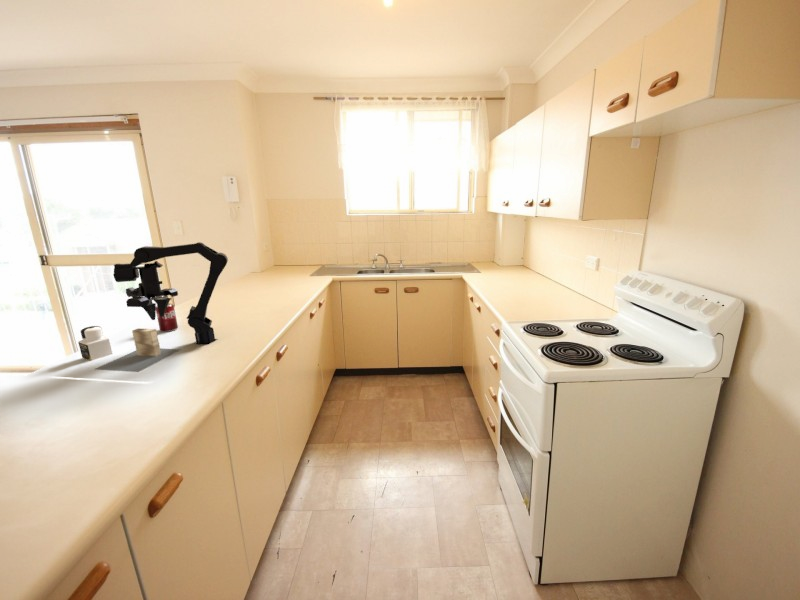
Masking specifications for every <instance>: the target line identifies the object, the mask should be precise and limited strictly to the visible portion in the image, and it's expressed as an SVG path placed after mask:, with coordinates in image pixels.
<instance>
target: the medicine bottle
mask: <svg viewBox="0 0 800 600" xmlns="http://www.w3.org/2000/svg"><path fill="white" fill-rule="evenodd" d="M102 329H103V328H102V327H101V326H100V325H92V326H87V327H83V328H82V329H80V334H81V339H82V340H78V346H79V347H78V348H79V351H80V354H81V358H82V359H83V358H84V359H83V360H86V359H87V360H88V361H94V360H97V359H100V358H101V359H102V358H104V357H107V356H110V355H113V350H112V345H111V342H110V338H109V337H107V336H104V334H103V330H102ZM87 360H86V361H87Z"/></svg>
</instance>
